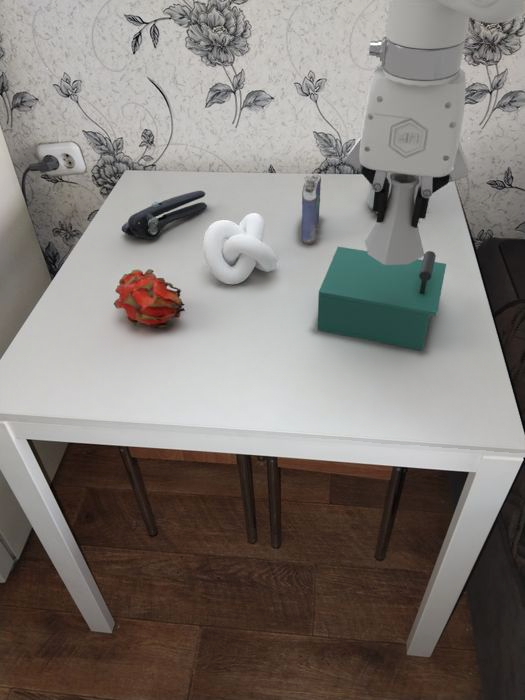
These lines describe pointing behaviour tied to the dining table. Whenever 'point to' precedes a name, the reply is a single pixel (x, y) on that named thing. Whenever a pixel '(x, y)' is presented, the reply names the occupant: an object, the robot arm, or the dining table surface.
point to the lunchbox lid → (385, 281)
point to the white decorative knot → (237, 249)
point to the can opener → (150, 226)
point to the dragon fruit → (148, 299)
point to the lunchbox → (372, 322)
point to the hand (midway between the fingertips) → (398, 217)
